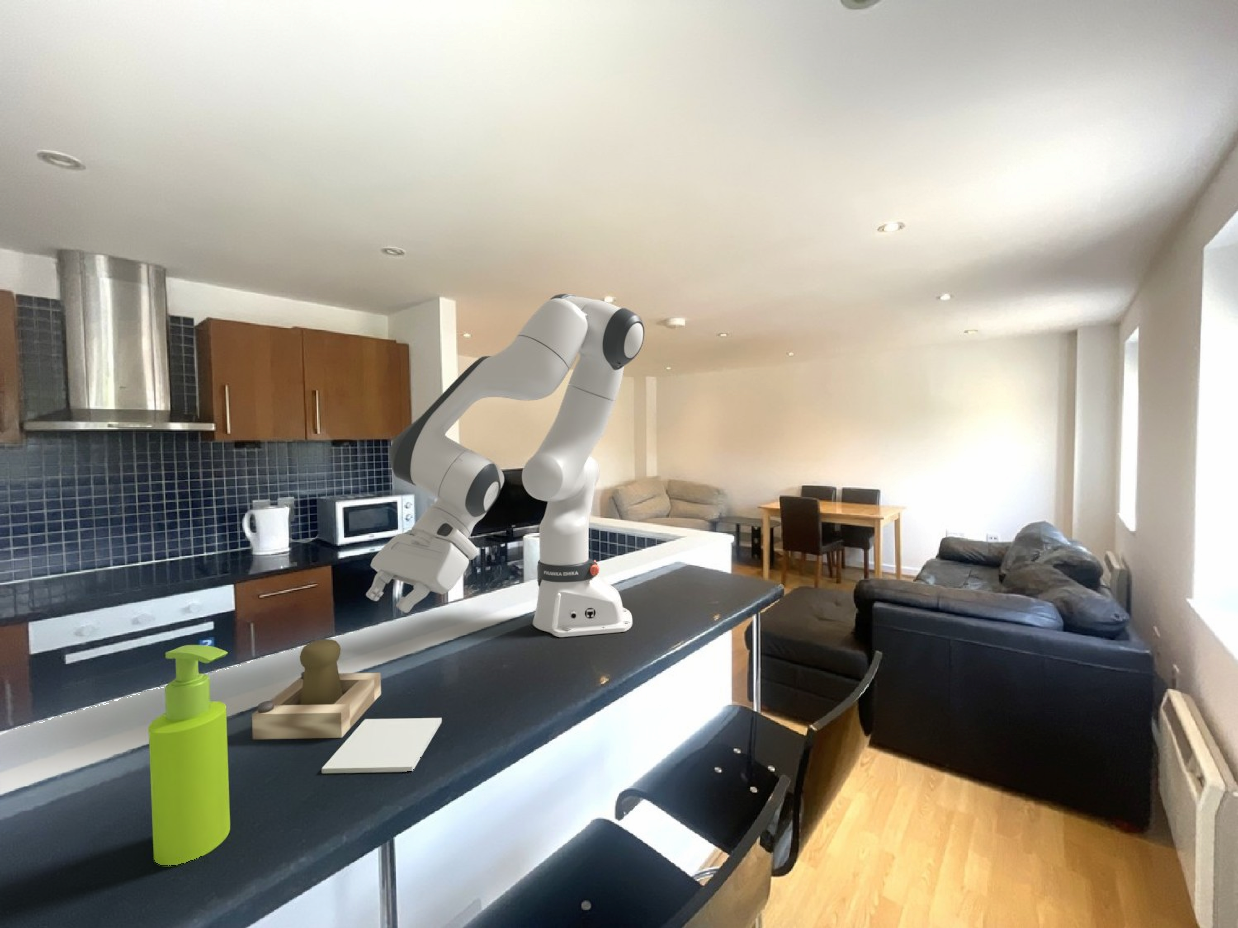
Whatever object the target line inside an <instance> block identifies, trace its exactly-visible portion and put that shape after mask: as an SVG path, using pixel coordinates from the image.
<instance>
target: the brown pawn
mask: <svg viewBox="0 0 1238 928" xmlns="http://www.w3.org/2000/svg"><path fill="white" fill-rule="evenodd" d="M341 650H342V649H341V645H340V644H339V642H338V641H337V640H334V639H327V638H326V639H318V640H315V641H311V642H308V643H307V644H306V645H305V646H304V647H302V649H301V651H300V653H299V661H300V665H301V666H302V667H303V669H304V670H303V671H304V678H303V686H302V694H301V702H300V705H332V704H334V703H336V702H337V701H338V700H339V699H340V698H341V697H342V696H343V694H342V688H341V683H340V677H339V667H338V661H339V659H340V656H341V652H342V651H341Z"/></svg>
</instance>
